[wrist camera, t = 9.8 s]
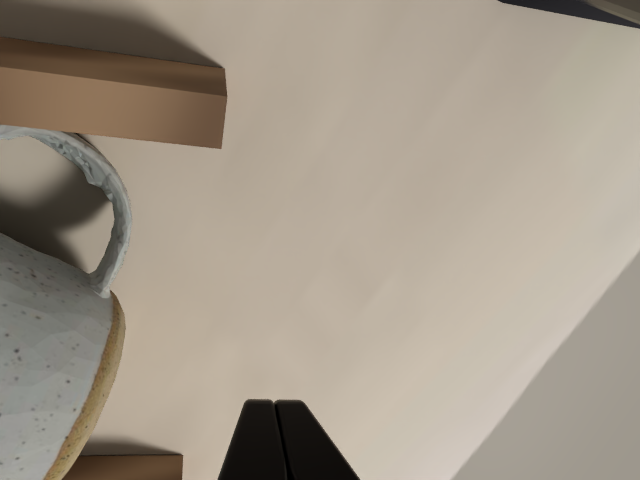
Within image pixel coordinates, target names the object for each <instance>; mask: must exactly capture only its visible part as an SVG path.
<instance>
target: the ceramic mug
mask: <svg viewBox="0 0 640 480" xmlns="http://www.w3.org/2000/svg"><path fill="white" fill-rule="evenodd" d="M21 136H31V137H33V138H36V139H38V140H39V141H41V142H43V143H45V144H46V145H48V146H50V147H51V148H53V149H55V150H56V151H57V152H59V153H60V154H62V155H63V156H65V157H66V158H68V159H69V160H71V161H72V162H73V163H74V164H75V165H77V166H78V167H79V168H80V169H81V170H82V171H83V172H84V173H85V176H86V179H87V181H88V183H90V184H93V185H95V186H97V187H100V188H102V190H103V191H104V193H105V194H106V196H107V197H108V198H109V200H110V201H111V202H112V204H113V211H114V218H115V220H114V225H113V228H112V231H111V239H110V241H109V244H108V246H107V249H106V252H105V255H104V257H103V258H102V260H101V262H100V264H99V266H98V267H97V269H96V270H95V271H94V272H92V273H90V274H88V273H86V272H84V271H82V270H81V269H78V268H76V267H74V266H71V265H69V264H67V263H65V262H62V261H61V260H60V259H58V258H55V257H52V256H50V255H47V254H44V253H41V252H38V251H36V250H34V249H32V248H30V247H28V246H26V245H24V244H22V243H19V242H17V241H15V240H13V239H12V238H10V237H8V236H6V235H4V234H2V233H0V480H61V479H62V478H63V477H64V476H65V475H66V473H67V472H68V471H69V469H70V468H71V466H72V465H73V463H74V462H75V461H76V459H77V457H78V456H79V454H80V453H81V451H82V449H83V447H84V446H85V444H86V442H87V440H88V439H89V437H90V435H91V433H92V432H93V430H94V428H95V426H96V423H97V421H98V419H99V416H100V414H101V412H102V409H103V407H104V405H105V402H106V400H107V398H108V396H109V393H110V391H111V388H112V385H113V383H114V380H115V377H116V374H117V370H118V367H119V363H120V360H121V355H122V349H123V343H124V337H125V329H126V326H125V317H124V312H123V310H122V308H121V305H120V303H119V301H118V299H117V297H116V295H115V294H114V293H113V292H112V291H111V290H110V287H109V285H110V284H111V283H112V282H113V280H114V279H115V277H116V275H117V273H118V271H119V269H120V268H121V266H122V265H123V261H124V257H125V254H126V252H127V249H128V247H129V240H130V233H131V225H132V214H131V205H130V200H129V197H128V194H127V190H126V188H125V186H124V184H123V182H122V180H121V178H120V177H119V175H118V173H117V172H116V170H115V168H114V167H113V166H112V165H111V164H110V162H109V161H108V160H107V159H106V158H105V157H104V156H103V155H102V154H101V153H100V152H99V151H98V150H97V149H96V148H94V147H93V146H92V145H90V144H89V143H88V142H86V141H85V140H83V139H82V138H80V137H79V136H78V135H76V134H74V133H72V132H64V131H55V130H45V129H36V128H27V127H18V126H9V125H0V139H8V140H9V139H13V138H16V137H21Z"/></svg>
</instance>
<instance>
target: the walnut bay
mask: <svg viewBox="0 0 640 480" xmlns="http://www.w3.org/2000/svg"><path fill="white" fill-rule="evenodd" d="M226 103H227V89H226V78H225V69H224V68H217V67H210V66H203V65H196V64H188V63H181V62H174V61H167V60H160V59H153V58H146V57H139V56H132V55H125V54H118V53H111V52H104V51H97V50H90V49H83V48H76V47H69V46H62V45H55V44H48V43H40V42H33V41H26V40H19V39H12V38H5V37H0V125H9V126H18V127H27V128H36V129H45V130H55V131H64V132H73V133H82V134H91V135H100V136H109V137H118V138H127V139H136V140H145V141H154V142H163V143H172V144H181V145H191V146H200V147H209V148H218V149H221V147H222V138H223V129H224V120H225V112H226ZM182 467H183V455H146V456H78V457H77V459H76V461H75V462H74V463H73V465H72V466H71V468H70V469H69V471H68V472H67V473H66V475H65V476H64V477H63V478H62V479H61V480H182Z"/></svg>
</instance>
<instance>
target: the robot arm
mask: <svg viewBox="0 0 640 480" xmlns="http://www.w3.org/2000/svg"><path fill="white" fill-rule="evenodd" d="M498 1H500V2H502V3H506V4H512V5H517V6H522V7H528V8H533V9H538V10H544V11H549V12H554V13H560V14H565V15H570V16H576V17H581V18H586V19H592V20H597V21H602V22H607V23H613V24H618V25H623V26H629V27H634V28H639V29H640V0H498ZM218 480H360V479H359V477H358V476H357V474H356V473H355V472H354V470H353V469H352V468H351V466H350V465H349V463H348V462H347V461H346V459H345V458H344V457H343V455H342V454H341V452H340V451H339V450H338V448H337V447H336V446H335V444H334V443H333V441H332V440H331V439H330V437H329V436H328V435H327V433H326V432H325V430H324V429H323V428H322V426H321V425H320V423H319V422H318V421H317V419H316V418H315V417H314V415H313V414H312V412H311V411H310V410H309V408H308V407H307V406H306V404H305V403H304V402H303V401H301V400H277V401H275V402H274V403H273V401H272V400H269V399H248V400H246V401H245V403H244V405H243V408H242V411H241V414H240V417H239V420H238V422H237V425H236V428H235V431H234V434H233V437H232V440H231V443H230V445H229V448H228V451H227V454H226V457H225V460H224V463H223V465H222V468H221V471H220V474H219V477H218Z"/></svg>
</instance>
